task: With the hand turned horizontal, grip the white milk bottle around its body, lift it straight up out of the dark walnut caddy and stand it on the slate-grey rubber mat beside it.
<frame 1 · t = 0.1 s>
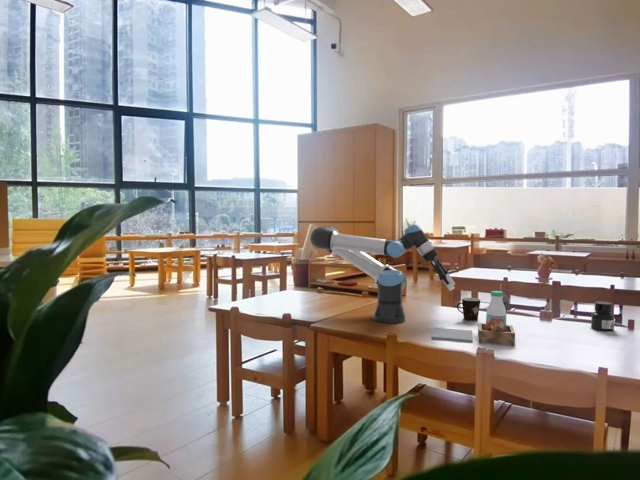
hand: (453, 287, 230), 15 cm above the table, tool tilted 35°, fingers open, 13 cm apart
ink bottle: (602, 329, 211), on the table
mat: (452, 335, 198), on the table
caddy: (495, 340, 192), on the table
beverage cup: (499, 327, 215), on the table
milk bottle: (495, 340, 192), resting in caddy
coffee mug: (467, 320, 229), on the table
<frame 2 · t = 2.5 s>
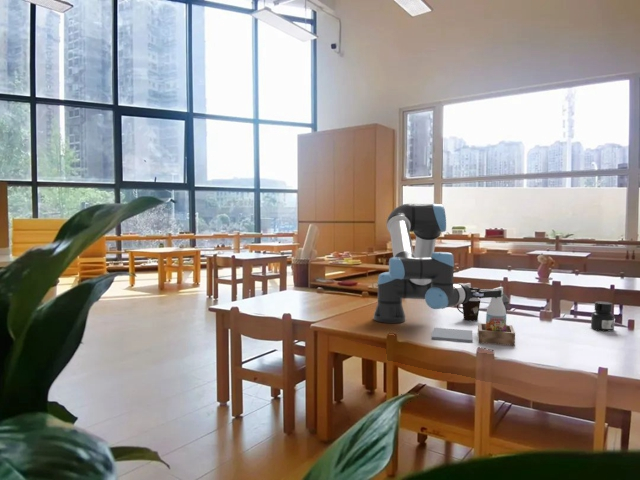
hand: (485, 288, 185), 22 cm above the table, tool horizontal, fingers open, 13 cm apart
nothing on the table moved.
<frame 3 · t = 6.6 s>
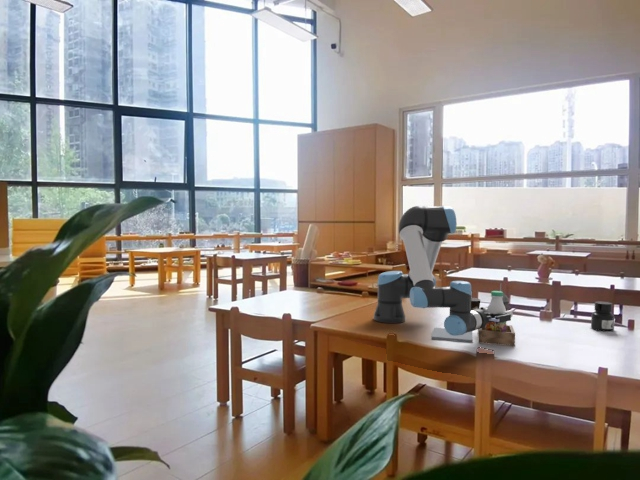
hand: (501, 311, 195), 11 cm above the table, tool horizontal, fingers closed on milk bottle, 7 cm apart
milk bottle: (495, 340, 192), resting in caddy, touching gripper
everything else where it was.
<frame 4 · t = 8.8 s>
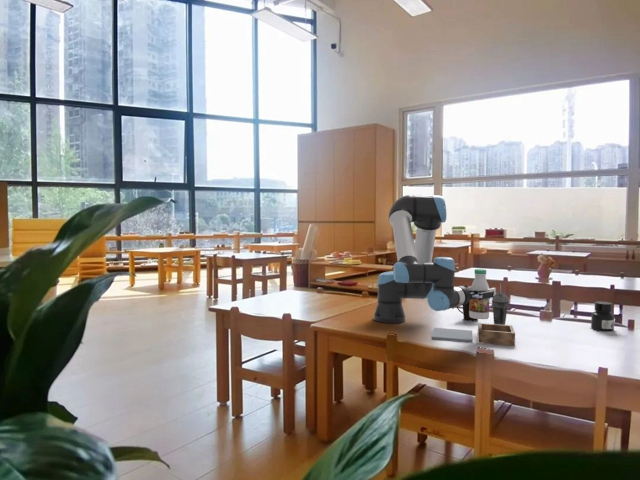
hand: (485, 289, 196), 20 cm above the table, tool horizontal, fingers closed on milk bottle, 7 cm apart
milk bottle: (478, 318, 194), point 9 cm above the table, touching gripper
everything else where it was.
when the fingers open (13 cm above the table, at t = 11.0 s): milk bottle drops 1 cm, resting on mat.
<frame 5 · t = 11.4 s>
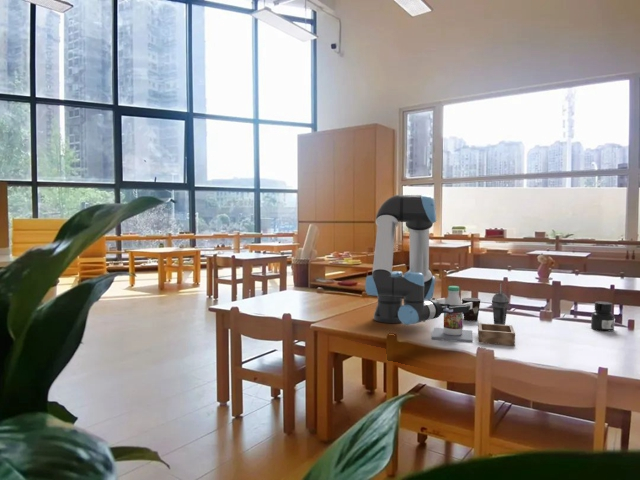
hand: (457, 303, 200), 13 cm above the table, tool horizontal, fingers open, 12 cm apart
milk bottle: (452, 334, 198), point 1 cm above the table, touching mat
everything else where it was.
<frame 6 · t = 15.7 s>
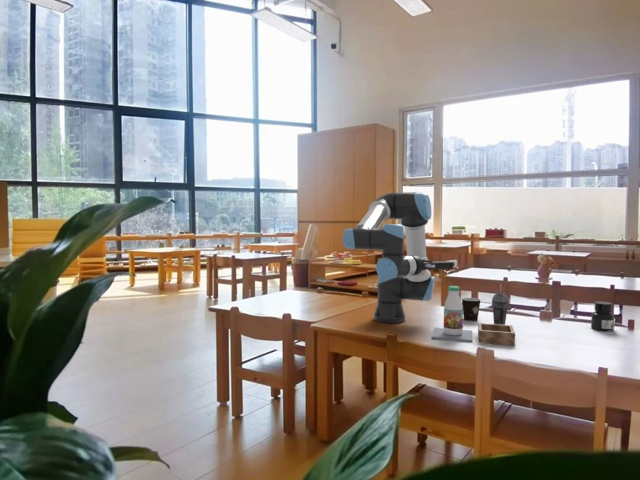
hand: (441, 261, 190), 32 cm above the table, tool horizontal, fingers open, 13 cm apart
nothing on the table moved.
at the end: milk bottle 0.2 cm from the mat (horizontally); milk bottle tilted 0°; milk bottle point 0.8 cm above the table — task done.
